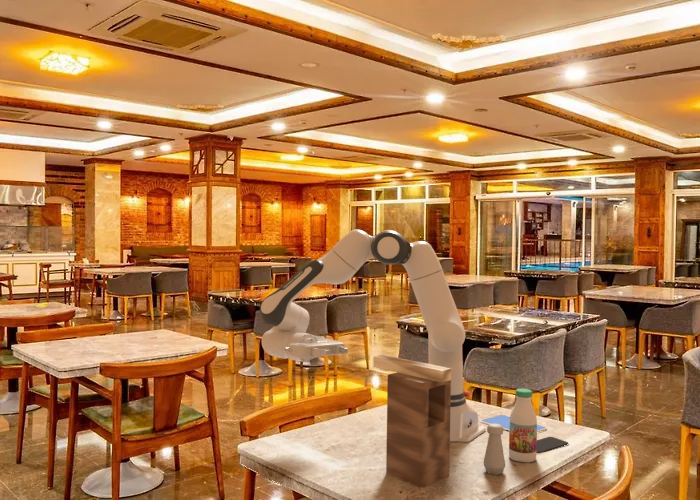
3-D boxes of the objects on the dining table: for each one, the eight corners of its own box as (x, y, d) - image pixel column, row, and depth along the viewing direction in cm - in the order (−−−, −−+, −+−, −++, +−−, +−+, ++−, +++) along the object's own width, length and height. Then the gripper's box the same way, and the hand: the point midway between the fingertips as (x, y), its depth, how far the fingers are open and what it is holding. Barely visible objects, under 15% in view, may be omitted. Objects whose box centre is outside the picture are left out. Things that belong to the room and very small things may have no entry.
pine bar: (383, 364, 178) (383, 354, 177) (451, 380, 160) (451, 368, 160) (373, 366, 175) (373, 356, 175) (441, 382, 158) (442, 370, 158)
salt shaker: (505, 477, 165) (506, 429, 165) (483, 475, 167) (484, 427, 166) (504, 468, 171) (505, 422, 171) (483, 466, 172) (484, 420, 172)
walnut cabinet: (414, 462, 175) (416, 368, 174) (449, 475, 166) (450, 375, 165) (386, 474, 166) (387, 374, 165) (421, 487, 158) (422, 382, 157)
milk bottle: (505, 453, 183) (506, 386, 182) (530, 453, 184) (531, 386, 183) (514, 463, 175) (515, 393, 175) (540, 463, 176) (542, 393, 175)
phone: (518, 445, 189) (550, 436, 198) (518, 447, 190) (550, 438, 198) (538, 452, 183) (570, 442, 192) (538, 455, 183) (570, 445, 192)
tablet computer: (478, 423, 214) (478, 419, 214) (501, 417, 221) (501, 413, 221) (525, 438, 198) (525, 434, 198) (548, 431, 206) (548, 427, 206)
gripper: (280, 338, 186) (314, 343, 178) (324, 335, 202) (357, 339, 194) (279, 359, 186) (313, 365, 177) (323, 355, 202) (356, 360, 193)
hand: (337, 352), depth 186 cm, fingers open, 8 cm apart
